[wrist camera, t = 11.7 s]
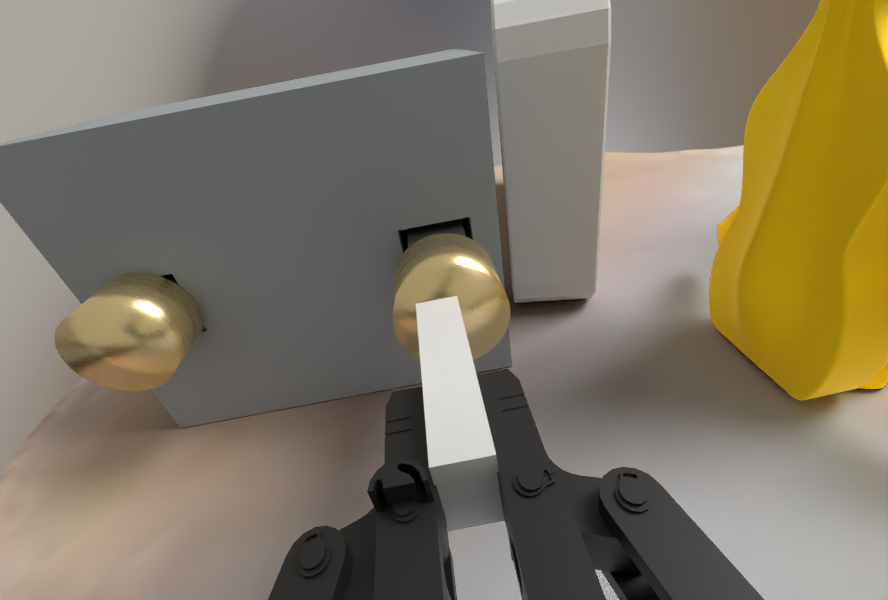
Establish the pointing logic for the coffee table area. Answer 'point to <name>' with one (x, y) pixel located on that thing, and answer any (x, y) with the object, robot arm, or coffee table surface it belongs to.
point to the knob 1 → (131, 332)
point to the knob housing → (271, 220)
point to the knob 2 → (449, 285)
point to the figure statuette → (814, 213)
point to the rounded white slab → (552, 140)
